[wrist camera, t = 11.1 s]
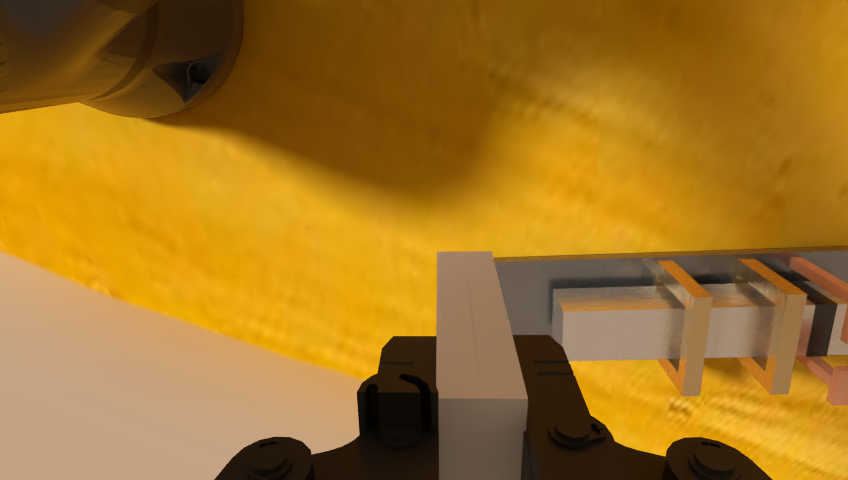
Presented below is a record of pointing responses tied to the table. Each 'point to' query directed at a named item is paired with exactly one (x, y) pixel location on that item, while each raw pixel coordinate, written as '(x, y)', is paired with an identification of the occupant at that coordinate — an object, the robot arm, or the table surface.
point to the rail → (682, 274)
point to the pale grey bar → (664, 320)
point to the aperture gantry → (841, 380)
